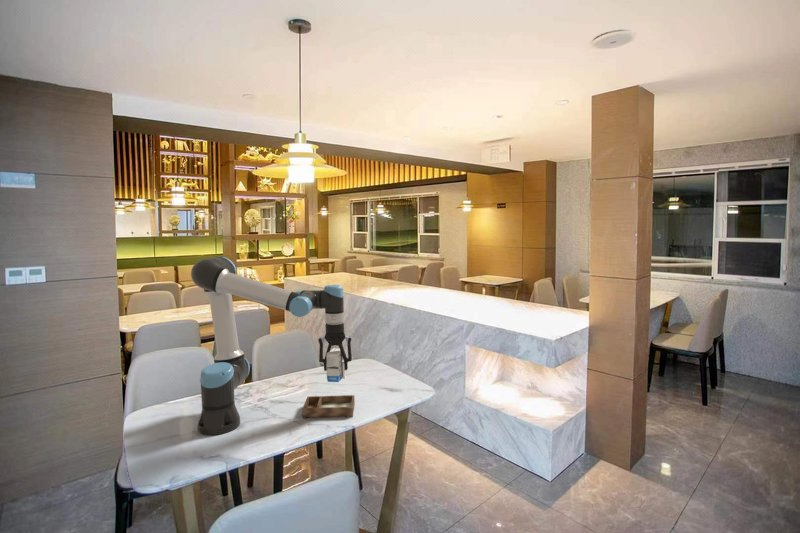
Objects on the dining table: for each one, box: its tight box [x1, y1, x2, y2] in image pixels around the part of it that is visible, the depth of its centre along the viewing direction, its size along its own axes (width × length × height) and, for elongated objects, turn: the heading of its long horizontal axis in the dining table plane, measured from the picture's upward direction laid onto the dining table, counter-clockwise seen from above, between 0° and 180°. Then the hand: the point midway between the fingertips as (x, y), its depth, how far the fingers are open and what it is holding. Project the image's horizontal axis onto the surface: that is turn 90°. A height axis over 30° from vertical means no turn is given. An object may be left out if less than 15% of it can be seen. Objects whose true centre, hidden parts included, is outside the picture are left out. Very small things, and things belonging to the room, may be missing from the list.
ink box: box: [326, 347, 344, 383], centre depth 180 cm, size 9×5×12 cm, turn 169°
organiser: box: [301, 394, 356, 419], centre depth 182 cm, size 20×13×4 cm, turn 93°
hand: (336, 377), depth 181 cm, fingers closed on ink box, 6 cm apart
